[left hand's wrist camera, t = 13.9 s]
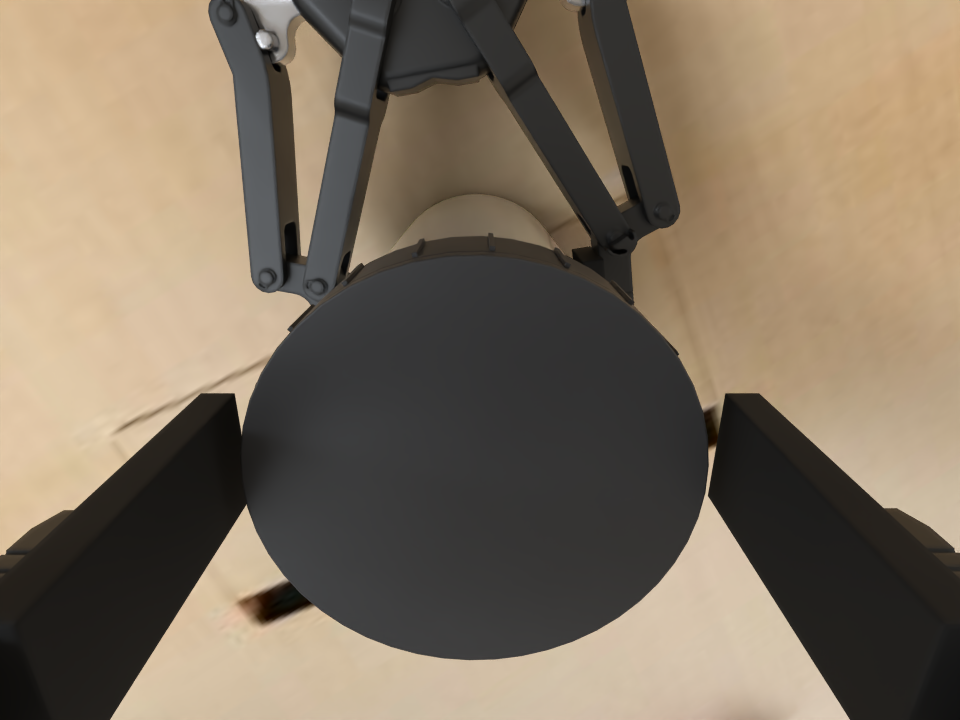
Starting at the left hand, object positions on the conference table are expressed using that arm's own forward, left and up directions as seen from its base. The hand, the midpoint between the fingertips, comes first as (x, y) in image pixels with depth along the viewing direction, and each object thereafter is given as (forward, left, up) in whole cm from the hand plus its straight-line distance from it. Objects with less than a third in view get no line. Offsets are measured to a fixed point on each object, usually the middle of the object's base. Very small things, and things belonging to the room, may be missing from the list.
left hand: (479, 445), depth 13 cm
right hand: (-5, -1, -11) cm, 12 cm away
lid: (0, 0, +1) cm, 1 cm away
